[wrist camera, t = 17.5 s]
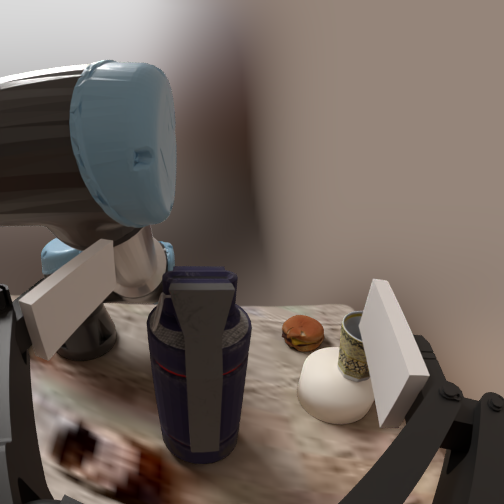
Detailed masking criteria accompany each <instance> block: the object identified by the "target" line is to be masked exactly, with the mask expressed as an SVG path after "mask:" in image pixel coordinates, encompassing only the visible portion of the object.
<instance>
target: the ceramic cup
mask: <svg viewBox="0 0 504 504" xmlns="http://www.w3.org/2000/svg"><path fill="white" fill-rule="evenodd" d="M362 314H363V311H355V312H351V313H349V314H347V315H346V316H345V317H344V318H343V320H342V326H341V334H340V348H339V357H338V366H337V367H338V369H339V371H340V372H341V374H342V375H343V377H344V378H347V379H349V380H352V381H355V382H361V381H365V380H368V379H369V378H370V373H369V369H368V364H367V359H366V355H365V350H364V346H363V342H362V337H361V333H360V329H359V324H360V320H361V317H362Z"/></svg>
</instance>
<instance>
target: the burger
mask: <svg viewBox="0 0 504 504" xmlns="http://www.w3.org/2000/svg"><path fill="white" fill-rule="evenodd" d="M282 331H283V334H282V337H283V338H284V339H285V342H286V343H287V344H288V345H289V346H291V347H295V348H296V349H297V350H298V351H302V352H308V351H313V350H315V349H316V348H318V347H319V346H320V344H321V343H322V341H323V340H324V329H323V326H322V325H321V324H320V323H319V322H318V321H317V320H315V319H313V318H311V317H308V316H304V315H296V316H293V317H291V318H289V319H288V320H287V321H286V322H285V323H284V324H283V327H282Z"/></svg>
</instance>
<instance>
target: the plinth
mask: <svg viewBox="0 0 504 504" xmlns="http://www.w3.org/2000/svg"><path fill="white" fill-rule="evenodd" d="M339 348H340V347H328V348H323V349H319V350H317V351H315V352H313V353H312V354H310V355H309V356H308V357H307V359H306V360H305V362H304V365H303V369H302V372H301V376H300V380H299V383H298V387H297V397H298V400H299V402H300V404H301V405H302V407H303V408H304V409H305V410H306V411H307V412H308V413H309V414H310V415H312V416H313V417H315V418H317V419H319V420H321V421H324V422H327V423H331V424H348V423H352V422H355V421H358V420H360V419H361V418H363V417H364V416H365V415H366V414H367V413H368V411H369V409H370V407H371V405H372V404H373V402H374V400H375V398H374V393H373V388H372V383H371V378H369V379H368V380H365V381H361V382H355V381H352V380H349V379H347V378H344V377H343V375H342V374H341V372H340V371H339V369H338V367H337V366H338V357H339Z"/></svg>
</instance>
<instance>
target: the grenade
mask: <svg viewBox="0 0 504 504" xmlns="http://www.w3.org/2000/svg"><path fill="white" fill-rule="evenodd" d="M162 286H163V292H162V293H161V295H160V298H159V301H158V304H157V306H156V307H155V308H154V309H153V310H152V311H151V313H150V314H149V316H148V319H147V332H148V342H149V350H150V359H151V367H152V374H153V381H154V388H155V395H156V401H157V407H158V413H159V419H160V424H161V430H162V435H163V440H164V443H165V445H166V447H167V448H168V449H169V450H170V452H171V453H172V454H174V455H175V456H176V457H178V458H180V459H182V460H184V461H186V462H191V463H195V464H207V463H213V462H216V461H219V460H221V459H223V458H224V457H226V456H228V455H229V454H230V453H231V451H232V450H233V449H234V447H235V445H236V443H237V438H238V431H239V422H240V416H241V408H242V401H243V393H244V385H245V377H246V369H247V361H248V351H249V346H250V338H251V330H252V326H251V320H250V318H249V316H248V315H247V313H246V312H245V311H244V310H243V309H242V308H241V307H240V306H238V305H237V304H235V301H236V289H237V275H236V274H234V273H233V272H230V271H225V269H224V267H209V266H207V267H205V266H202V267H200V266H190V267H189V266H182V267H181V266H179V267H178V266H173V270H172V271H168V272H165V273H164V274H163V276H162Z"/></svg>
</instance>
